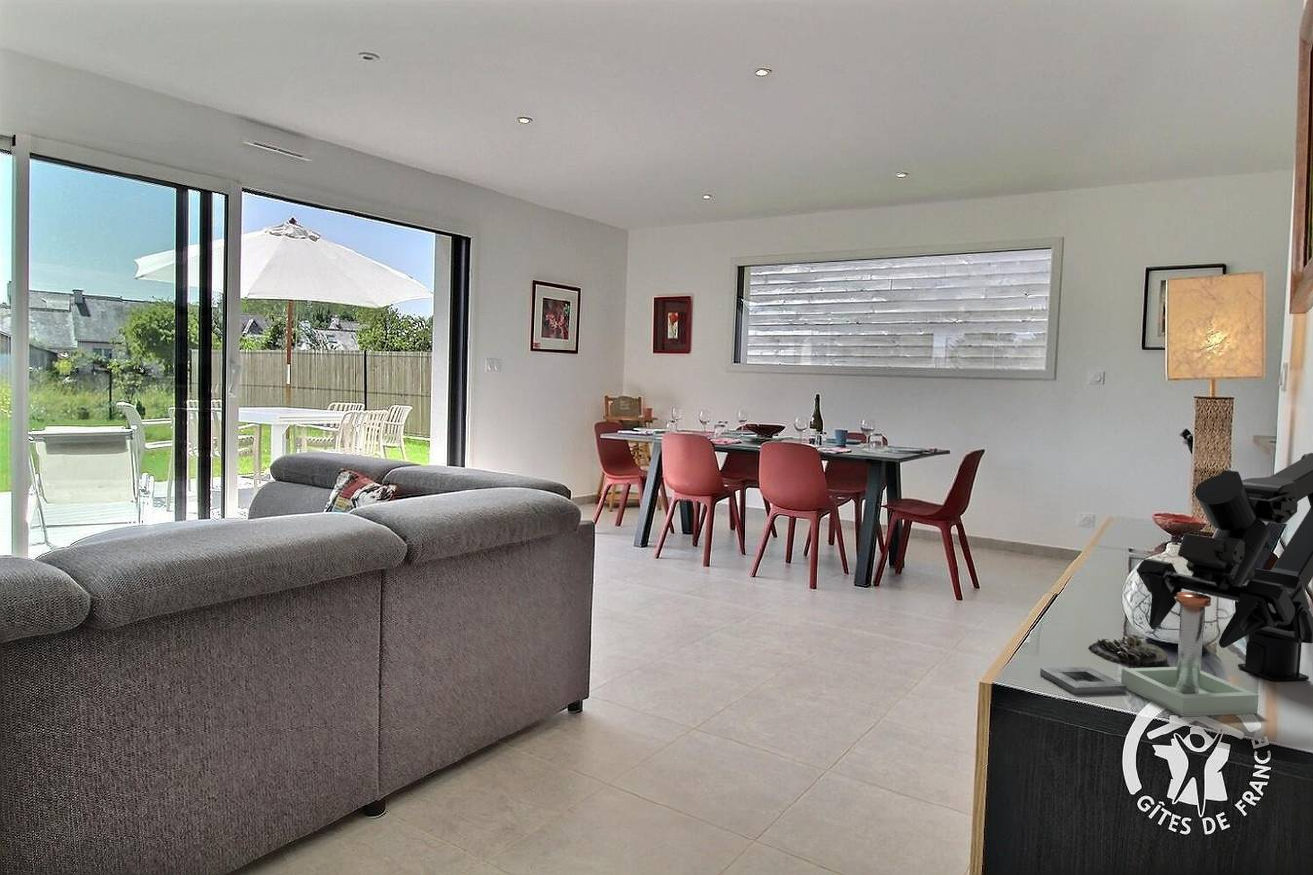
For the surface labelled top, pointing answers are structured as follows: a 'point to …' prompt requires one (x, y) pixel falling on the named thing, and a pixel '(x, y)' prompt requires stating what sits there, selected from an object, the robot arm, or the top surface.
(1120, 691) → the collar plate
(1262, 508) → the robot arm
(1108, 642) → the dark brown textured lump
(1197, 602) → the pin
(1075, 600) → the top surface
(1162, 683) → the tray
